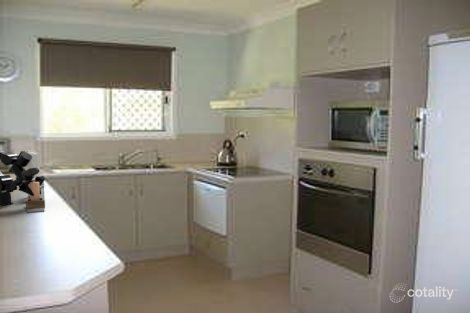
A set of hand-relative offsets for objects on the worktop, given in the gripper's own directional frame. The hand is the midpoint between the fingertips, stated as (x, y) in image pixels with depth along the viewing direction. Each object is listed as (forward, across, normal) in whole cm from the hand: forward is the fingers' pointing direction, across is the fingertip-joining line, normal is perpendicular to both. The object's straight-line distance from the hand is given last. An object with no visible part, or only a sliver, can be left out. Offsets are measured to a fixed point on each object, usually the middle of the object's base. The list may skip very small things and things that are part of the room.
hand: (37, 194), depth 248 cm
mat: (+10, -8, 0) cm, 12 cm away
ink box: (-9, +18, +19) cm, 28 cm away
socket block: (+4, 0, +6) cm, 7 cm away
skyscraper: (-17, +26, +26) cm, 41 cm away
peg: (+4, 0, +6) cm, 7 cm away
